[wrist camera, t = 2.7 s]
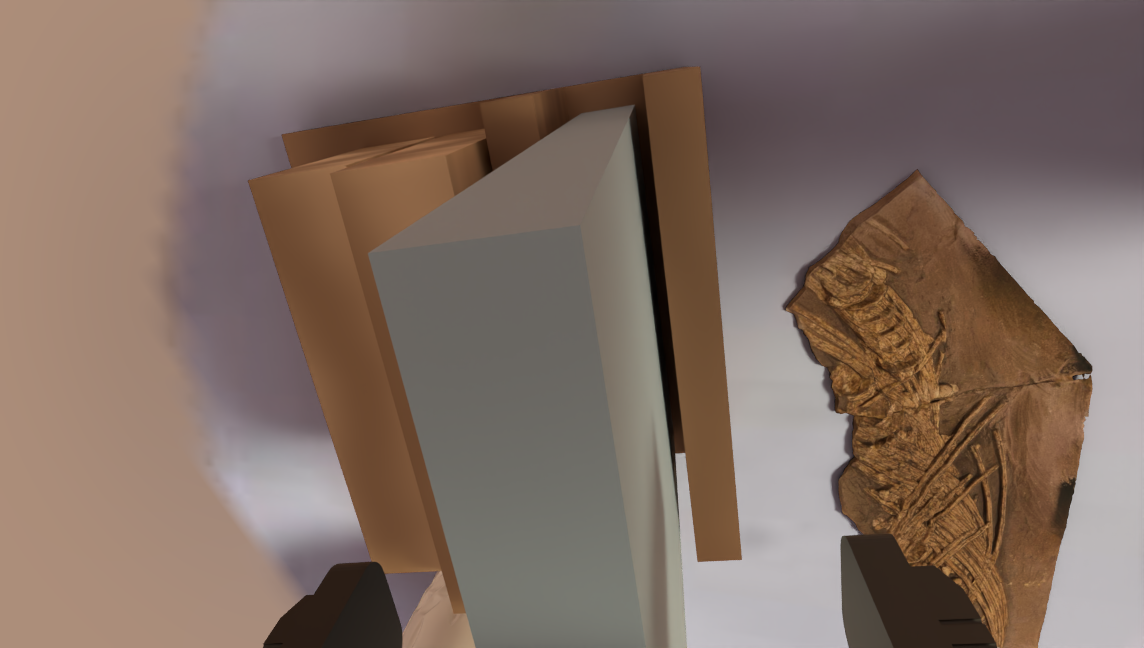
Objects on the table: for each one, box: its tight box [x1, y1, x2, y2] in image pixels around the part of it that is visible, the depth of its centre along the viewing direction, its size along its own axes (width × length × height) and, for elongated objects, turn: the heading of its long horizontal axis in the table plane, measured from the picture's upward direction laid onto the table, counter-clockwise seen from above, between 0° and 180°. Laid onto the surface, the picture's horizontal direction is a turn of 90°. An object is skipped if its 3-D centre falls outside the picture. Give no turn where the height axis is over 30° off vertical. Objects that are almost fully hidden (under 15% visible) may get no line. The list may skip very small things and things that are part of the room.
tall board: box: [368, 105, 687, 648], centre depth 18 cm, size 2×14×20 cm, turn 9°
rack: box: [282, 67, 742, 562], centre depth 25 cm, size 16×16×8 cm
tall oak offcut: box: [330, 129, 493, 614], centre depth 23 cm, size 3×14×10 cm, turn 9°
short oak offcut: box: [248, 137, 442, 574], centre depth 24 cm, size 3×14×8 cm, turn 9°
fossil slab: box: [786, 169, 1092, 648], centre depth 29 cm, size 26×11×1 cm, turn 20°
